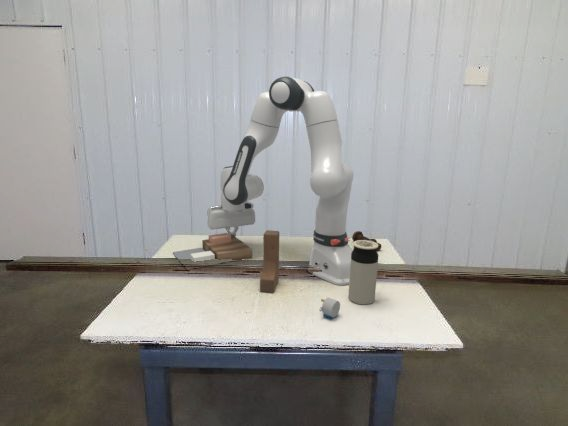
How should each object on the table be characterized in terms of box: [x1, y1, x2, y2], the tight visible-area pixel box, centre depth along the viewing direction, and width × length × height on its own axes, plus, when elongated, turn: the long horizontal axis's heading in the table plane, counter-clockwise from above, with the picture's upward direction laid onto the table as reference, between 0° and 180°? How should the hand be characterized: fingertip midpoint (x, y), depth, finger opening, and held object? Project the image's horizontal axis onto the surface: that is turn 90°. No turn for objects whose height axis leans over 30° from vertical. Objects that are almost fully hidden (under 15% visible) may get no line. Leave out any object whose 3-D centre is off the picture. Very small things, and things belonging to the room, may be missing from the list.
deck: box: [201, 236, 253, 261], centre depth 150 cm, size 19×14×4 cm
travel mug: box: [348, 240, 379, 305], centre depth 112 cm, size 8×8×18 cm
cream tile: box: [190, 251, 215, 262], centre depth 140 cm, size 5×8×2 cm, turn 120°
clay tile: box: [208, 232, 231, 245], centre depth 152 cm, size 5×8×2 cm, turn 120°
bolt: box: [351, 230, 382, 252], centre depth 162 cm, size 6×5×15 cm
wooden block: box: [259, 229, 280, 293], centre depth 119 cm, size 9×4×18 cm, turn 170°
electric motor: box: [319, 297, 341, 320], centre depth 103 cm, size 7×5×5 cm
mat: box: [172, 247, 205, 260], centre depth 144 cm, size 20×12×1 cm, turn 30°
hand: (232, 236), depth 155 cm, fingers closed
